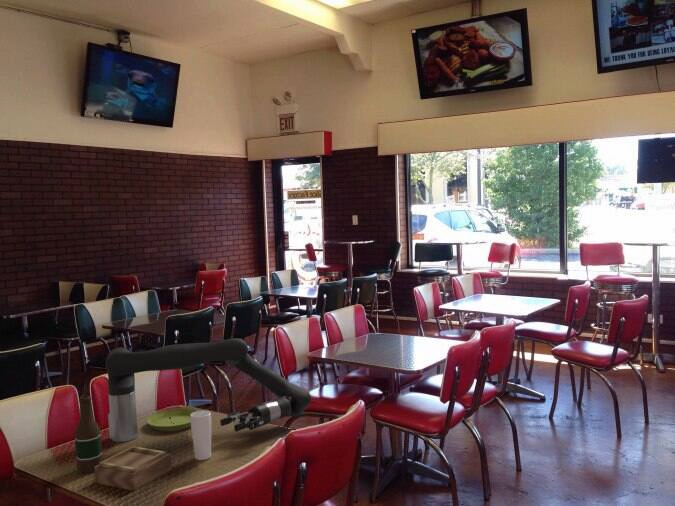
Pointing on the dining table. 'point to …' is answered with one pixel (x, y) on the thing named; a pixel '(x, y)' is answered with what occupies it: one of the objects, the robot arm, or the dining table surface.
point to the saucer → (171, 420)
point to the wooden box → (132, 468)
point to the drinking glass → (201, 434)
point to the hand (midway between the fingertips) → (227, 425)
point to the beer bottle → (87, 439)
